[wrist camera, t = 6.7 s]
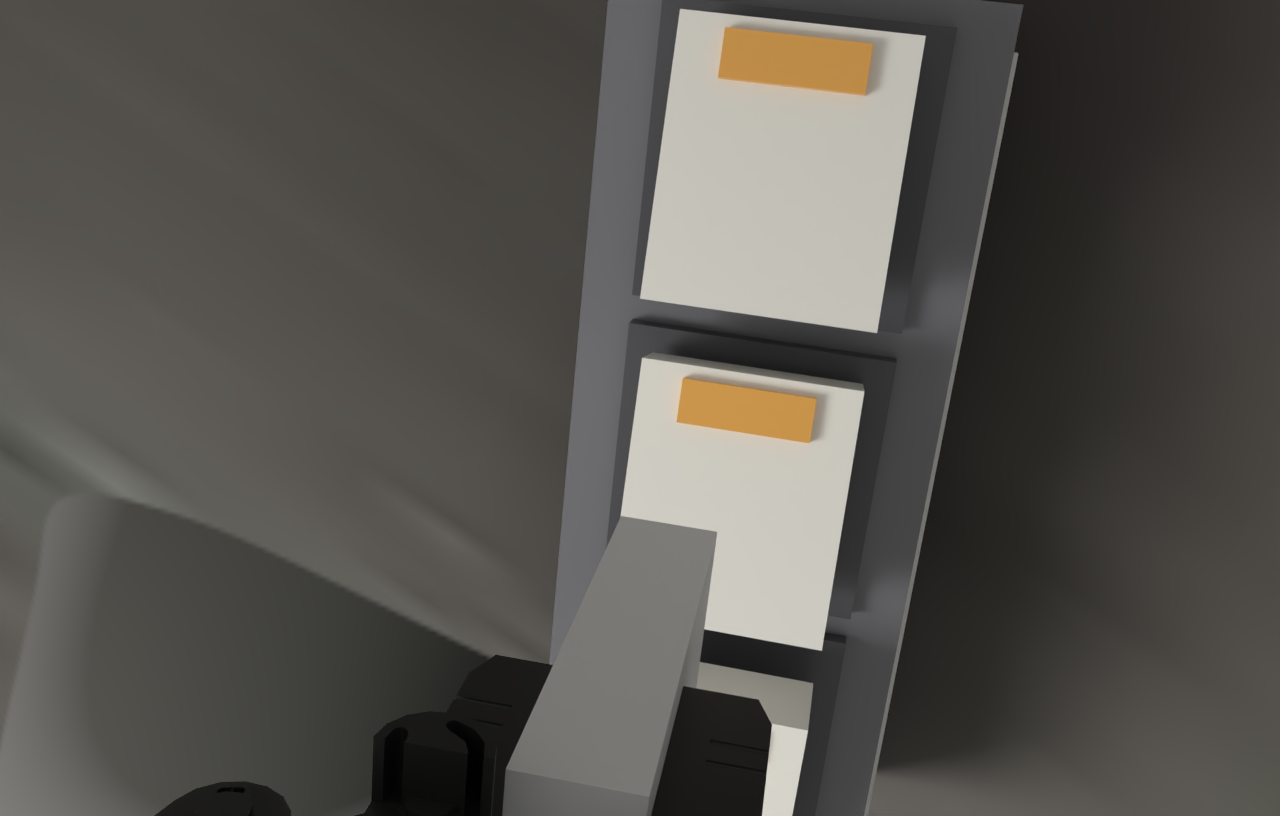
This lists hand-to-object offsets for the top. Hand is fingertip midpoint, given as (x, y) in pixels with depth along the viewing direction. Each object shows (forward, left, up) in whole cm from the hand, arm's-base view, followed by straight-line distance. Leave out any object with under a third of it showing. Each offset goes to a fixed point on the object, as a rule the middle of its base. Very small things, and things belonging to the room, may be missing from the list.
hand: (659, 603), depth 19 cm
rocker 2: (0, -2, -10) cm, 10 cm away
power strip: (0, -5, -17) cm, 17 cm away
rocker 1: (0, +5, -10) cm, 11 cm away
